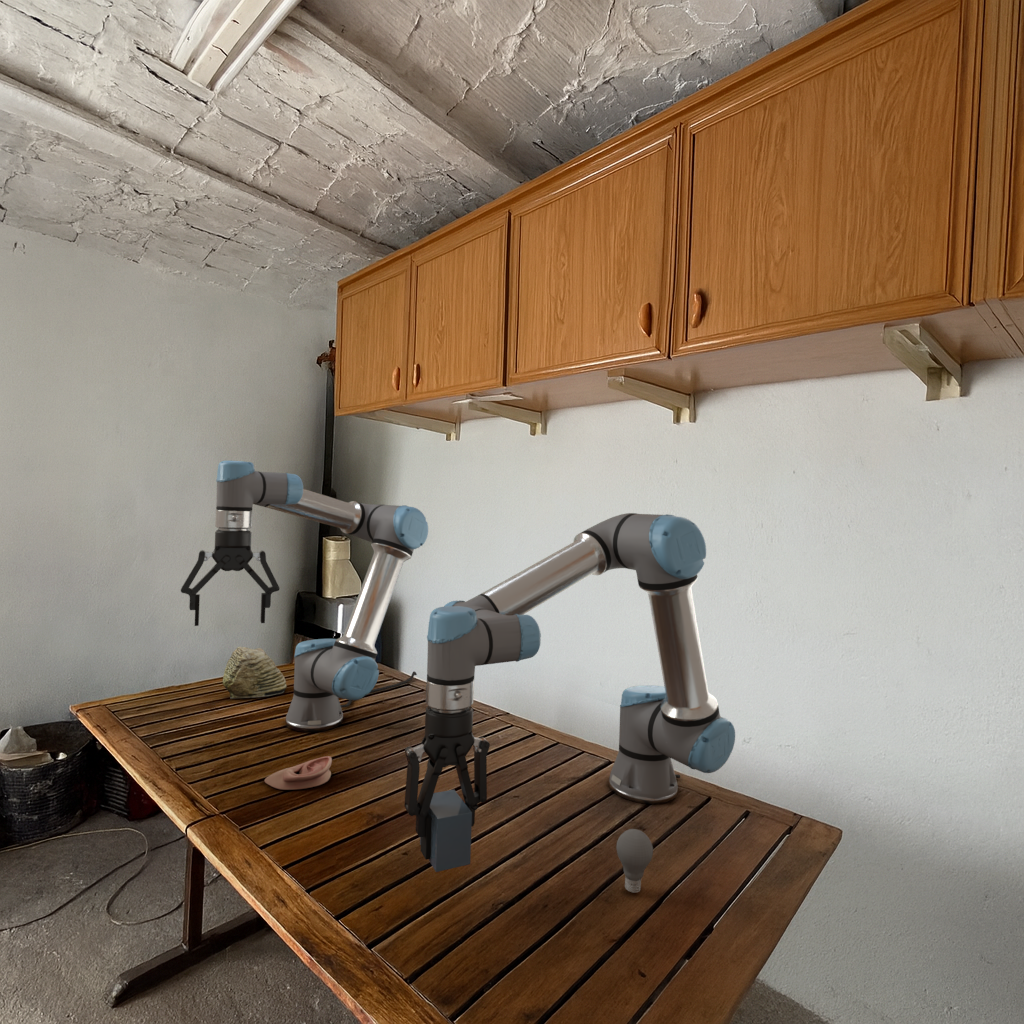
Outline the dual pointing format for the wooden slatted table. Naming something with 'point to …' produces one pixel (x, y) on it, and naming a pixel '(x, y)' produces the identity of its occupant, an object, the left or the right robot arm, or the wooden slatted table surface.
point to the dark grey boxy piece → (449, 831)
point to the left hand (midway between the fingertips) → (230, 623)
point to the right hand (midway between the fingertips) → (444, 850)
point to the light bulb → (634, 857)
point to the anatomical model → (302, 775)
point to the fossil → (252, 674)
